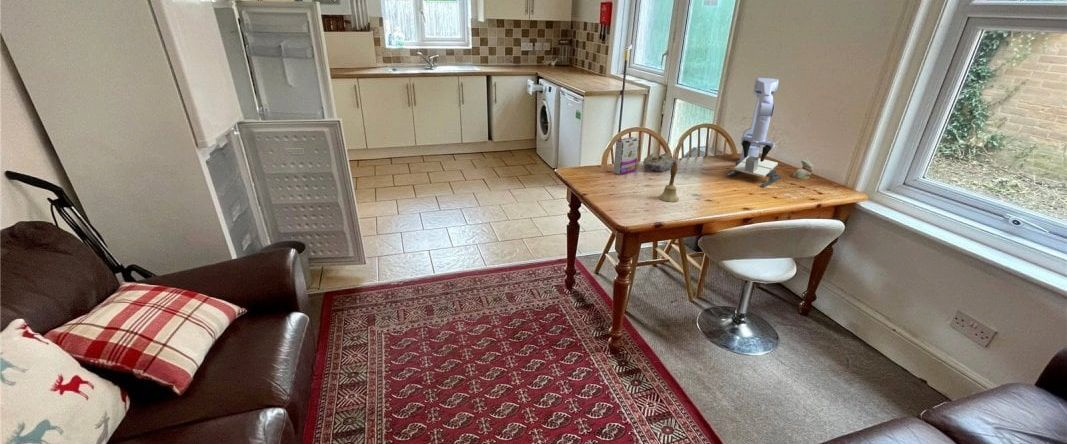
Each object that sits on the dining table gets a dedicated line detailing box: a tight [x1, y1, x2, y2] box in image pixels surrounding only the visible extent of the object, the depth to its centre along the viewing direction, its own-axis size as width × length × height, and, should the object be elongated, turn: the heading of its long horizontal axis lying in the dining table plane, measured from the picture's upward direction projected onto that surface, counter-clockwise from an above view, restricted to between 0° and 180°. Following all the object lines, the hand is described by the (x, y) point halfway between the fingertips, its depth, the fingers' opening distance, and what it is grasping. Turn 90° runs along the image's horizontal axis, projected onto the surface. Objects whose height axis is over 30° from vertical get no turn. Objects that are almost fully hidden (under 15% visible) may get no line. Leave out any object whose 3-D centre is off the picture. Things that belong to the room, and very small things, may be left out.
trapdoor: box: [733, 156, 779, 178], centre depth 217 cm, size 14×14×1 cm
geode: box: [642, 152, 678, 173], centre depth 227 cm, size 17×9×15 cm
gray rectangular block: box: [745, 156, 760, 173], centre depth 213 cm, size 4×4×6 cm
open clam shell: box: [791, 157, 815, 180], centre depth 221 cm, size 6×8×10 cm
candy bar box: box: [612, 136, 640, 176], centre depth 220 cm, size 11×5×16 cm, turn 126°
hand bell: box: [658, 161, 680, 203], centre depth 190 cm, size 8×8×16 cm
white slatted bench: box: [725, 159, 782, 189], centre depth 219 cm, size 20×18×6 cm
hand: (753, 159), depth 212 cm, fingers open, 7 cm apart
